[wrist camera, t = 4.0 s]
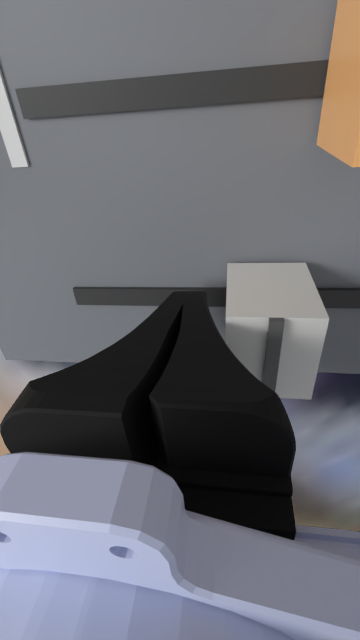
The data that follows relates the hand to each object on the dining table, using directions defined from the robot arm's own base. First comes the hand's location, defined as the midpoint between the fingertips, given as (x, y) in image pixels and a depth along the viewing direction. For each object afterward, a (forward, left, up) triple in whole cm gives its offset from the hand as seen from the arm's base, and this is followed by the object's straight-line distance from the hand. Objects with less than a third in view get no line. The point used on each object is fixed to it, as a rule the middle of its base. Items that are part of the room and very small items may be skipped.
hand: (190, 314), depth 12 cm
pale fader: (0, -3, -1) cm, 3 cm away
